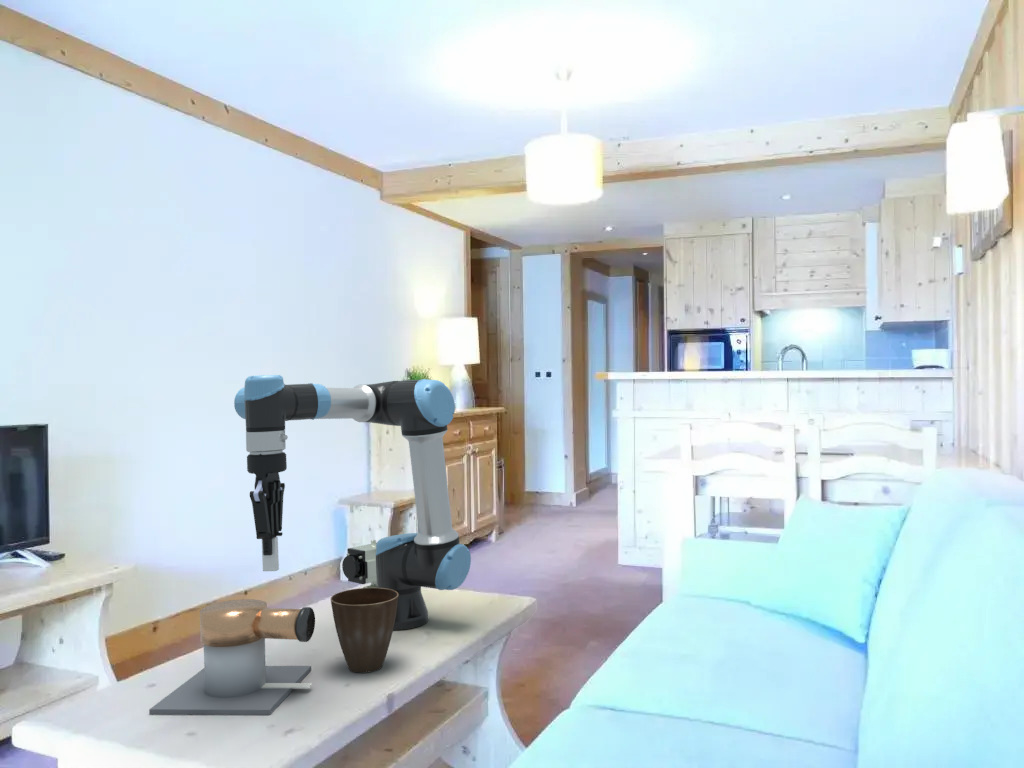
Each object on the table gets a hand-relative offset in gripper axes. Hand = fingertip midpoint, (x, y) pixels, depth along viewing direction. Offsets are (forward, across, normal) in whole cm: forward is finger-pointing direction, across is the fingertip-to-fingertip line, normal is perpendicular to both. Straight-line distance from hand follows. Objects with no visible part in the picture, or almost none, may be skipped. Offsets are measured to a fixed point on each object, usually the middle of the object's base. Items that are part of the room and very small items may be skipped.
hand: (270, 570), depth 156 cm
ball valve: (+28, +76, -2) cm, 81 cm away
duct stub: (+26, +6, +9) cm, 28 cm away
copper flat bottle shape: (+16, +6, +6) cm, 17 cm away
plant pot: (+27, +20, -13) cm, 36 cm away
